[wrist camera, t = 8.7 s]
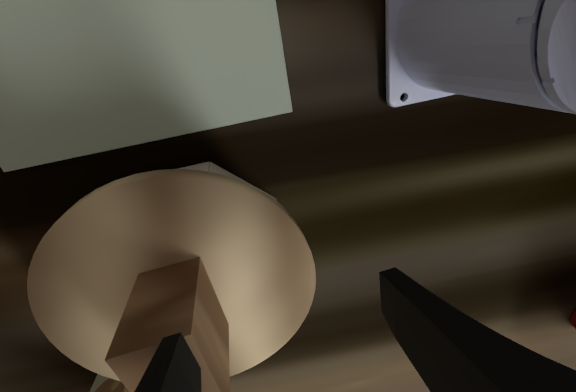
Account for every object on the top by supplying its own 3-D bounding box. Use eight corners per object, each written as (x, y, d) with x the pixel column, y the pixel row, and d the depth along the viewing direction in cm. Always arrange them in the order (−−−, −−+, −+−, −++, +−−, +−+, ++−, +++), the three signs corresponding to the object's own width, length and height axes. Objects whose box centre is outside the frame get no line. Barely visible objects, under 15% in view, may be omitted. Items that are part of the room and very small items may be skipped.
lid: (286, 136, 14) (322, 182, 9) (325, 332, 20) (357, 421, 15) (-32, 214, 12) (-199, 318, 7) (118, 396, 19) (81, 515, 14)
